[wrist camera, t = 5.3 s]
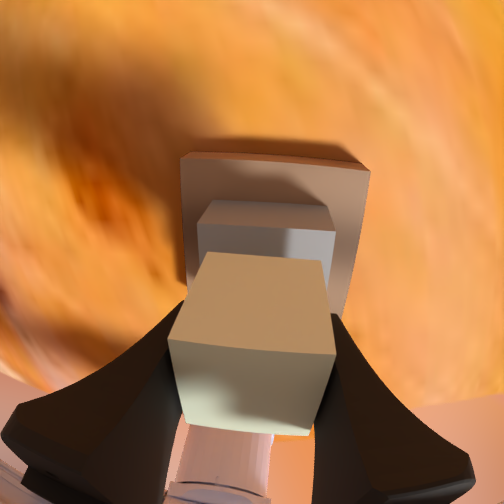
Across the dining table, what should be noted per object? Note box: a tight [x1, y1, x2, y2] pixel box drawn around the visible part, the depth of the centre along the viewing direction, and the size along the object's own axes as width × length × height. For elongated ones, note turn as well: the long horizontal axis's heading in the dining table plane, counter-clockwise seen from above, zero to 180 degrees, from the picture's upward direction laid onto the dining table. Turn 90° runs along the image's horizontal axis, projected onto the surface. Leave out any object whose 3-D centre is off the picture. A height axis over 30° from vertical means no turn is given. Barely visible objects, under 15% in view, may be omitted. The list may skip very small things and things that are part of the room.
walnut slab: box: [180, 152, 370, 319], centre depth 17 cm, size 9×9×2 cm
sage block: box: [167, 252, 336, 436], centre depth 10 cm, size 4×4×4 cm
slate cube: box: [197, 200, 336, 291], centre depth 15 cm, size 6×6×3 cm
